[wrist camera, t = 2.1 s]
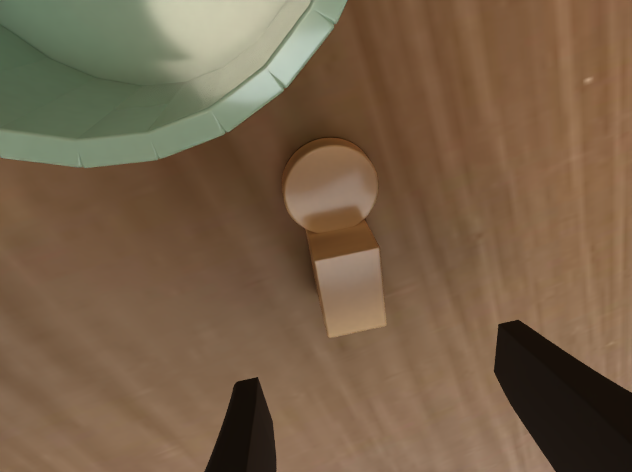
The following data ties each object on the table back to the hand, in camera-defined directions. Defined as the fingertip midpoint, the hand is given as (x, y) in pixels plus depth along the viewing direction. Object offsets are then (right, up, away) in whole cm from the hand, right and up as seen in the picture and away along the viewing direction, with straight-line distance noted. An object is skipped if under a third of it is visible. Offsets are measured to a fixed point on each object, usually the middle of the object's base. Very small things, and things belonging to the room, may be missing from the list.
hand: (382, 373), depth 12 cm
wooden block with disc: (-1, +5, +5) cm, 7 cm away
